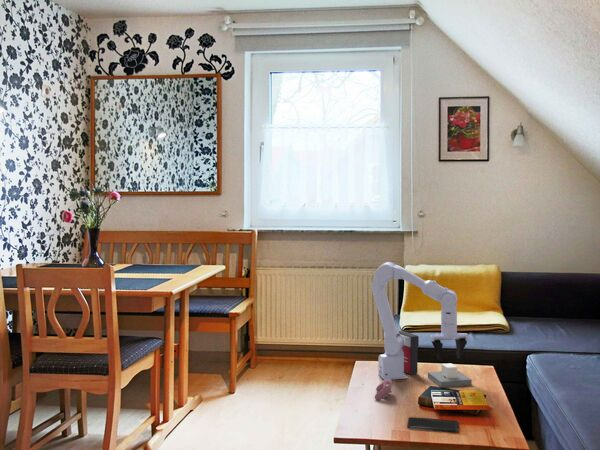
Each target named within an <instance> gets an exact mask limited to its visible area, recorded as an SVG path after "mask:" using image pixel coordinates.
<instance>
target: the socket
mask: <svg viewBox="0 0 600 450" xmlns="http://www.w3.org/2000/svg"><path fill="white" fill-rule="evenodd" d="M427 378H428V379H429V380H430V381H432V382H433V383H435V384H436V385H437V386H438V387H440V388H449V387H461V386H462V387H463V386H472V378H470V377H469V376H467V375H465V374H464V373H462V372H460V371H459V370H458V369H457V378H445V376H443V375H442V370H441V371H430V372H429V371H428V372H427Z"/></svg>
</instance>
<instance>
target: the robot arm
mask: <svg viewBox="0 0 600 450" xmlns="http://www.w3.org/2000/svg"><path fill="white" fill-rule="evenodd" d="M392 279H393V280H404V281H405V282H408V283H409V284H412V285H413V286H415V287H418V288H420V289H421V292H422V294H424V295H425V296H428V297H429V298H431V299H433V300H434V301H437V302H440V306H441V311H440V321H441V322H440V324H441V325H440V331H441V332H440V333H438V334H437V333H436V334H430V335H429V341H430V342H431V344H432V346H433V348H434V351H435V353H436V359H437V360H438V361H442V360H443V359H442V358H443V353H442V352H443V343H442V341H455V346H456V348H455V349H456V350H455V351H456V354H455V355H456V358H457V359H458V360H461V359H462V355H463V351H464V349H465V347H466V346H467V343H468V341H467V340H469V334H468V333H466V332H465V333H461V332H458V311H457V309H458V307H457V302H458V295H457V293H456V291H454V290H453V289H449V288H448V287H443V286H442V285H440V284H438V283H437V281H436V280H434V279H433V280H431V279H428V280H425V279H423V278H421V277H420V276H418V275H416V274H415V273H412V272H411V271H410V270H408V269H407V268H404V267H402V266H400V265H398V264H396V263H394V262H391V261H386V262H384V263H383V264H381V265H379V266H378V267H377V269H376V270H375V271H374V274H373V279H372V282H371V286H370V287H371V292H372V294H373V299H374V302H375V305H376V310H377V312H378V316H379V319H380V323H381V326H382V329H383V340H384V343H383V349H384V353H382V354H379V355H378V360H377V361H378V365H377V366H378V372H377V375H378V376H379V377H381V379H382V380H383V381H384V380H386V379H390V380H392V381H393V380H401V379H402V380H403V379H408V376H407V375H406V374H405V372H404V352H403V351H402V349H401V348H402V347H403V346H404V339H403V338H402V336H401V335H400V334H399V331H400V330H399V329H398V328H397V325H396V323H395V318H394V315H393V312H392V309H391V305H390V302H389V299H388V295H387V292H386V286H387V285H388V283H389V282H390V280H392Z"/></svg>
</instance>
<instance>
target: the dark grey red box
mask: <svg viewBox="0 0 600 450" xmlns="http://www.w3.org/2000/svg"><path fill="white" fill-rule="evenodd" d="M398 331H399V334H400V335H401V336H402V338H403V339H404V346H403V347H402V348H401V349H402V351H403V352H404V373H406V374H409V375H411V376H412V375H417V374H418V348H419V344H420V343H419V341H420V339H419V335H417V334H414V333H411V332H407V331H405V330H398Z"/></svg>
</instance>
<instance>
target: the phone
mask: <svg viewBox="0 0 600 450" xmlns="http://www.w3.org/2000/svg"><path fill="white" fill-rule="evenodd" d="M406 428H407V429H409V430H419V431H426V432H441V433H449V434H450V433H452V434H458V433H459V431H460V429H459V428H460V425H459V420H456V419H455V420H454V419H453V420H452V419H441V418H428V417H417V416H415V417H414V416H410V417H408V419H407V423H406Z"/></svg>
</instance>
